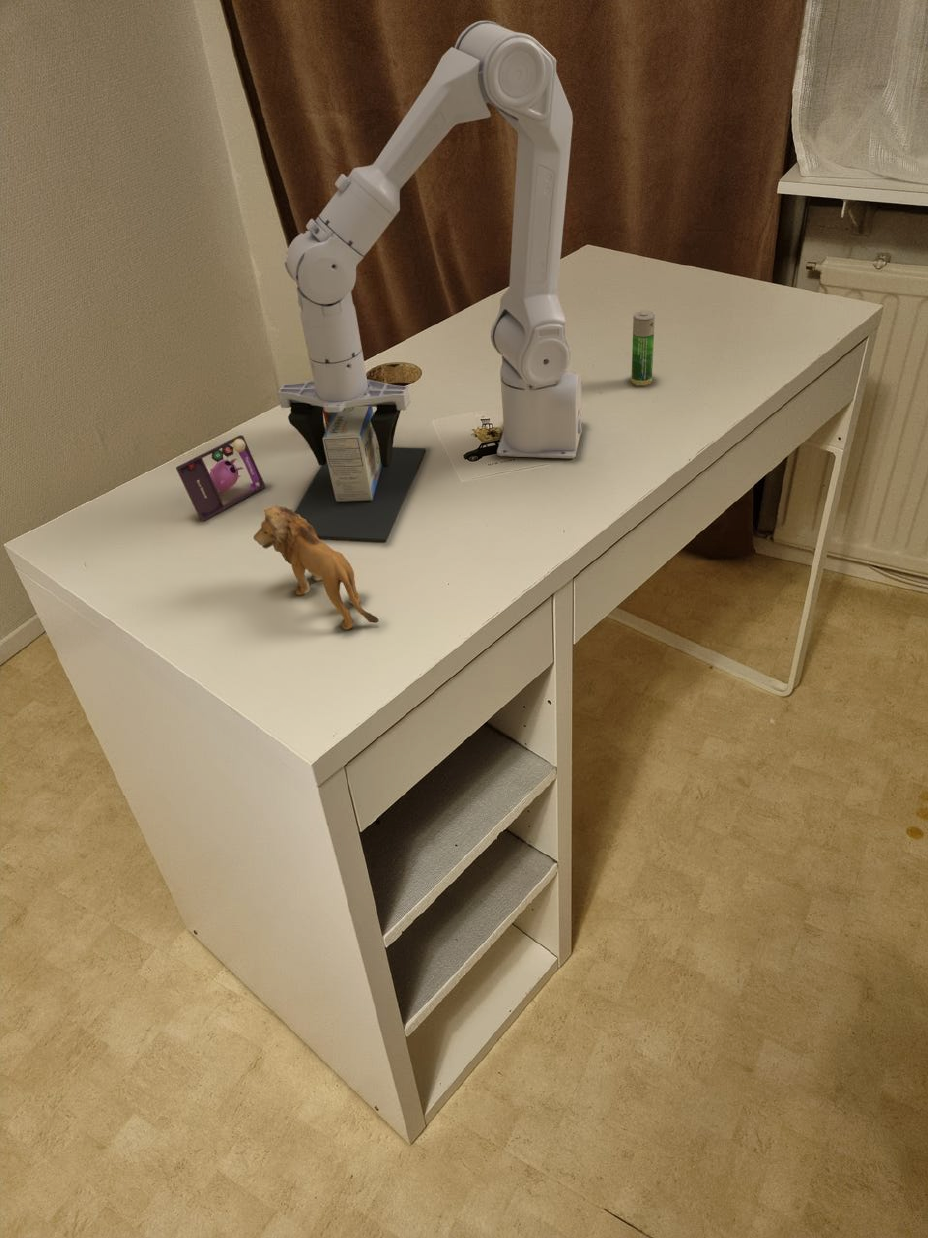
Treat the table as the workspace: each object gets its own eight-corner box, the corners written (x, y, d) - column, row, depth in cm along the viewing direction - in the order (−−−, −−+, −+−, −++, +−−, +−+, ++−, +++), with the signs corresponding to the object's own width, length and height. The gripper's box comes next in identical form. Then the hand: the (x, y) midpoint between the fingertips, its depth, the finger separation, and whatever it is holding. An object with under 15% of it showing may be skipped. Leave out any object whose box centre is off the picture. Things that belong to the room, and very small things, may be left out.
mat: (426, 450, 117) (425, 447, 117) (385, 542, 103) (385, 539, 103) (333, 447, 119) (333, 445, 119) (282, 536, 105) (281, 533, 105)
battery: (651, 386, 124) (655, 317, 118) (631, 386, 125) (633, 317, 119) (651, 377, 126) (655, 308, 120) (631, 377, 127) (633, 308, 121)
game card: (179, 467, 106) (245, 434, 110) (160, 466, 110) (225, 434, 114) (205, 521, 108) (268, 487, 113) (186, 518, 112) (248, 485, 117)
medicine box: (373, 502, 108) (361, 435, 103) (335, 503, 109) (321, 437, 103) (383, 465, 114) (372, 400, 109) (347, 466, 115) (334, 401, 109)
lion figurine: (261, 586, 99) (240, 515, 93) (299, 560, 102) (281, 490, 96) (361, 640, 91) (345, 566, 85) (398, 610, 94) (385, 537, 88)
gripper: (258, 367, 99) (285, 478, 108) (390, 369, 96) (407, 482, 105) (281, 338, 105) (305, 446, 113) (407, 339, 102) (422, 449, 110)
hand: (355, 461), depth 110 cm, fingers open, 7 cm apart
